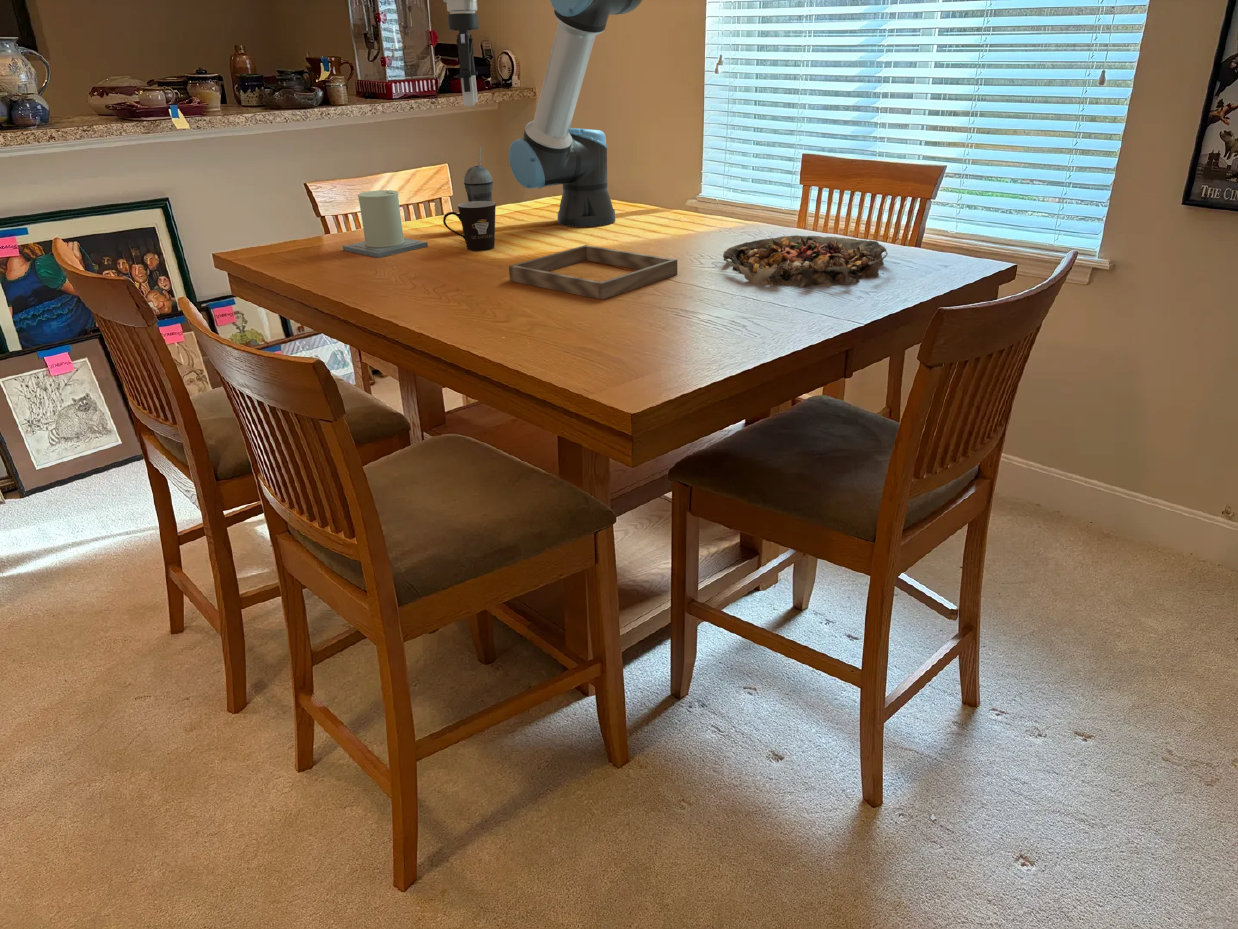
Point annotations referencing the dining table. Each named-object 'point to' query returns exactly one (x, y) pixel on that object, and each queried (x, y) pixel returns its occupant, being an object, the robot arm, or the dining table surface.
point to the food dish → (806, 260)
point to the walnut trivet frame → (539, 276)
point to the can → (381, 218)
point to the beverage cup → (478, 183)
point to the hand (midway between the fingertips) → (470, 104)
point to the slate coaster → (385, 248)
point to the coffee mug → (476, 224)
